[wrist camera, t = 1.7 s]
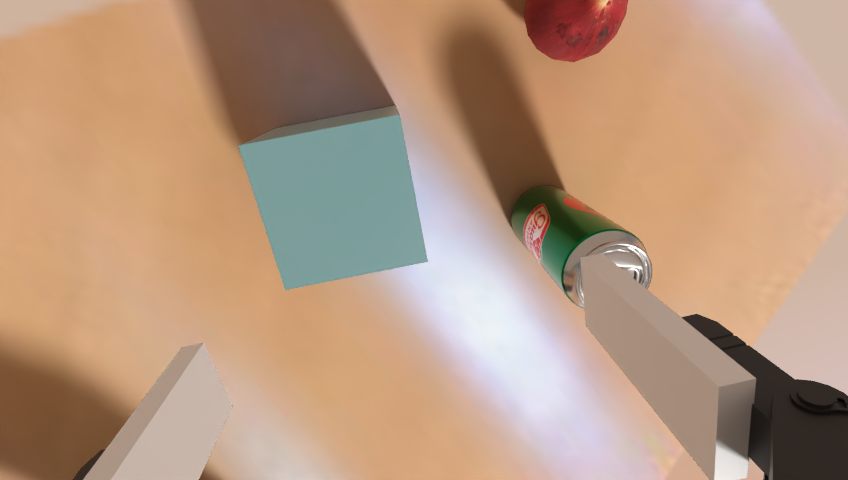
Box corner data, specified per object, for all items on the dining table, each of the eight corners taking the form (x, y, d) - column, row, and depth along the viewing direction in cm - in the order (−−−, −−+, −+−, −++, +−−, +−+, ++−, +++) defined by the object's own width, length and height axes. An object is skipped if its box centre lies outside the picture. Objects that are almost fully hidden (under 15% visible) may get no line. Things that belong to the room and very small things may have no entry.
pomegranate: (600, 45, 31) (670, 35, 23) (523, 75, 31) (567, 74, 24) (583, -46, 29) (653, -89, 21) (500, -13, 29) (541, -44, 22)
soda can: (509, 186, 34) (571, 240, 23) (572, 181, 34) (665, 231, 23) (509, 247, 36) (566, 324, 24) (569, 241, 36) (653, 315, 25)
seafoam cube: (308, 239, 34) (285, 289, 26) (275, 127, 31) (238, 145, 23) (417, 218, 34) (427, 261, 26) (395, 105, 31) (399, 114, 23)
